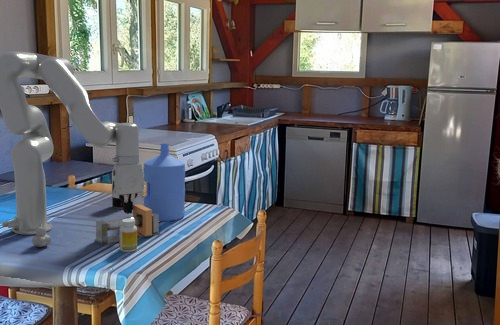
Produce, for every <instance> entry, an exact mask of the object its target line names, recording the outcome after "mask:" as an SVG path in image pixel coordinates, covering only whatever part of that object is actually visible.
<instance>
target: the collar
mask: <svg viewBox="0 0 500 325" xmlns="http://www.w3.org/2000/svg"><path fill="white" fill-rule="evenodd" d="M140 214H141V215H143V225H142V226H136V227H137V232H139V233H141V234H142V235H144V236H148V237H151V236H150V235H152V210H151V209H149V208H147V207H145V206H144V204H141V203H136V204H133V210H132V217H133V216H136V215H140Z"/></svg>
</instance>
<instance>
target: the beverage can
mask: <svg viewBox="0 0 500 325" xmlns="http://www.w3.org/2000/svg"><path fill="white" fill-rule="evenodd" d="M112 174H113V169H112V172H111V175H112ZM112 194H113V191H112V190H111V195H112ZM127 197H128V194H127ZM111 200H112V201H111V202H112V208H114V209H120V210H121V209H122V210H123V201H122V200H121V199H120V198H114V197H112V198H111Z"/></svg>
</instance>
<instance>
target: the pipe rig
mask: <svg viewBox="0 0 500 325" xmlns="http://www.w3.org/2000/svg"><path fill="white" fill-rule="evenodd" d="M127 218H131V219H135V226H142V225H143V215H141V214H140V215H136V216H133V215H132V216H130V217H129V216H128V217H122V218H116V219H112V220H111V219H110V220H105V221H104V220H102V219H99V220H96V221H95V236H96V237H95V239H94V241H95V242H96V243H98V244H100V245H101V246H106V245H112V244H116V243H120V233H119V234H116V235H115V234H114V235H110V236H108V232H109V231H113V230H120V227H121V226H123V225H122V220H123V219H127ZM159 222H160V221H159V214H156V213H154V212H152V235H150V236H144V235H142V234H141V233H139V232H137V240H138V239H141V238H147V237H153V236H157V235H161V232H160V231H159V228H160V227H159V226H160V224H159Z"/></svg>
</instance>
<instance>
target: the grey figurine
mask: <svg viewBox="0 0 500 325" xmlns="http://www.w3.org/2000/svg"><path fill="white" fill-rule="evenodd" d="M51 240H52V238H51V236H50V234H49V235H48V234H47V232H46V228H45V226H44V225H41V222H40V226H39V225H38V226H37V228H36V234H34V236H33V237H31V242H32V245H33V246H35V248H36V247H37V248H42V247H43V248H44V247H47V246H48V245H50V243H51V242H52V241H51Z"/></svg>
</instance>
